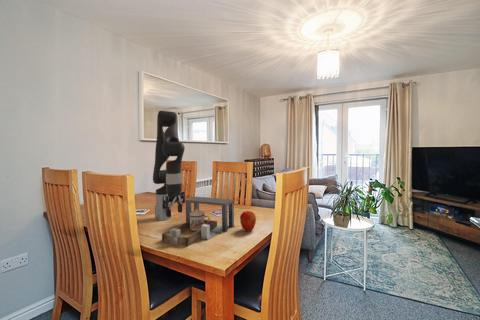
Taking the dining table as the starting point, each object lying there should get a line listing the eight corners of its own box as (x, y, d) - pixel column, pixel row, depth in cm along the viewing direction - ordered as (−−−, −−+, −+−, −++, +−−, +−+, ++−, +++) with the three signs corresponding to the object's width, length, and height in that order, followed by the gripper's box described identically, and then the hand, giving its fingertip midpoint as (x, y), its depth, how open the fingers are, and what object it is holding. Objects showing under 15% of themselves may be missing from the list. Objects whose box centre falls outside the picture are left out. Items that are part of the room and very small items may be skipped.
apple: (245, 234, 128) (245, 213, 128) (237, 229, 136) (236, 209, 135) (259, 231, 133) (259, 210, 133) (250, 226, 141) (250, 207, 140)
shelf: (186, 226, 143) (185, 199, 142) (196, 220, 153) (195, 196, 153) (225, 232, 132) (225, 203, 132) (233, 226, 142) (233, 199, 142)
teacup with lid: (189, 231, 133) (188, 211, 133) (189, 226, 142) (189, 207, 142) (210, 230, 135) (209, 210, 135) (209, 225, 144) (209, 206, 144)
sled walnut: (161, 242, 119) (160, 228, 118) (194, 224, 146) (194, 213, 146) (186, 247, 112) (186, 232, 112) (217, 227, 140) (216, 216, 140)
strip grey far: (210, 232, 132) (210, 230, 132) (219, 226, 142) (219, 224, 142) (217, 233, 131) (217, 231, 130) (226, 227, 141) (226, 225, 141)
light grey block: (200, 238, 123) (200, 225, 122) (208, 233, 130) (208, 221, 130) (207, 240, 121) (207, 226, 121) (215, 234, 128) (215, 222, 128)
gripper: (177, 180, 123) (177, 210, 124) (157, 184, 110) (158, 217, 111) (188, 180, 120) (189, 211, 121) (170, 185, 107) (171, 219, 108)
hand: (174, 214), depth 116 cm, fingers open, 8 cm apart
